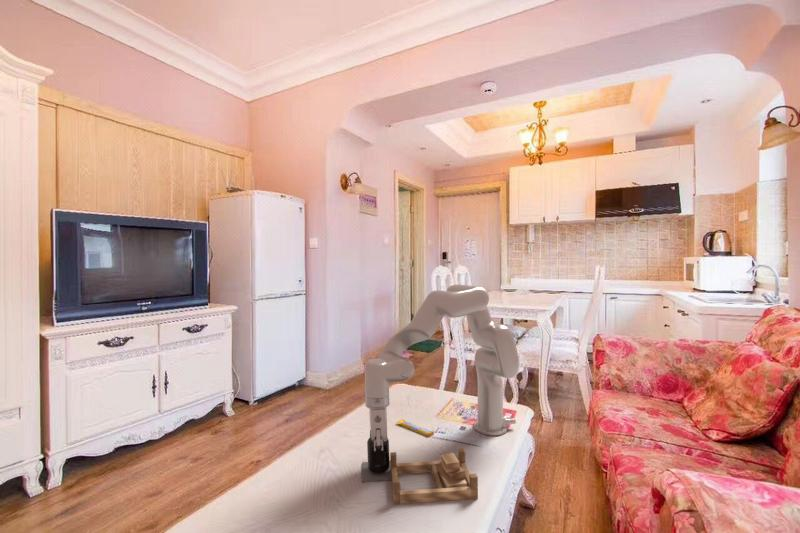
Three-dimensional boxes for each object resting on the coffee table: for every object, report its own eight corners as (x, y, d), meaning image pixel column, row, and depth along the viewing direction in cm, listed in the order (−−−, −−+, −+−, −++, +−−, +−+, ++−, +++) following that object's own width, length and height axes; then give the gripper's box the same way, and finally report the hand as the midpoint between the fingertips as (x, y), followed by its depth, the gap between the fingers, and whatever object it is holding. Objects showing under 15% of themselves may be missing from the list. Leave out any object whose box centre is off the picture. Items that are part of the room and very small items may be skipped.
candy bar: (436, 435, 137) (435, 430, 137) (429, 439, 134) (429, 434, 134) (403, 422, 149) (403, 417, 149) (396, 425, 146) (396, 421, 146)
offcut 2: (451, 466, 112) (451, 458, 112) (464, 479, 105) (464, 470, 105) (437, 471, 110) (437, 462, 109) (450, 484, 103) (450, 475, 103)
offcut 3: (456, 474, 112) (456, 465, 112) (467, 493, 104) (466, 483, 103) (437, 477, 111) (437, 467, 111) (446, 496, 102) (446, 485, 102)
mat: (393, 461, 119) (393, 460, 119) (395, 480, 109) (395, 478, 109) (362, 463, 119) (362, 462, 119) (361, 482, 109) (361, 481, 109)
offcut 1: (453, 461, 110) (453, 453, 110) (459, 470, 105) (459, 462, 105) (440, 463, 109) (440, 454, 109) (446, 472, 104) (446, 464, 104)
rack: (463, 466, 116) (463, 448, 116) (477, 498, 101) (477, 477, 100) (390, 471, 114) (390, 452, 114) (393, 504, 99) (393, 482, 99)
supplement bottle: (392, 463, 116) (391, 426, 116) (385, 475, 110) (384, 436, 109) (373, 459, 118) (372, 423, 118) (364, 471, 112) (363, 433, 112)
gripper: (390, 410, 105) (392, 471, 106) (388, 389, 122) (389, 441, 123) (364, 412, 104) (366, 473, 105) (365, 390, 122) (366, 442, 122)
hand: (378, 455), depth 114 cm, fingers closed on supplement bottle, 6 cm apart
